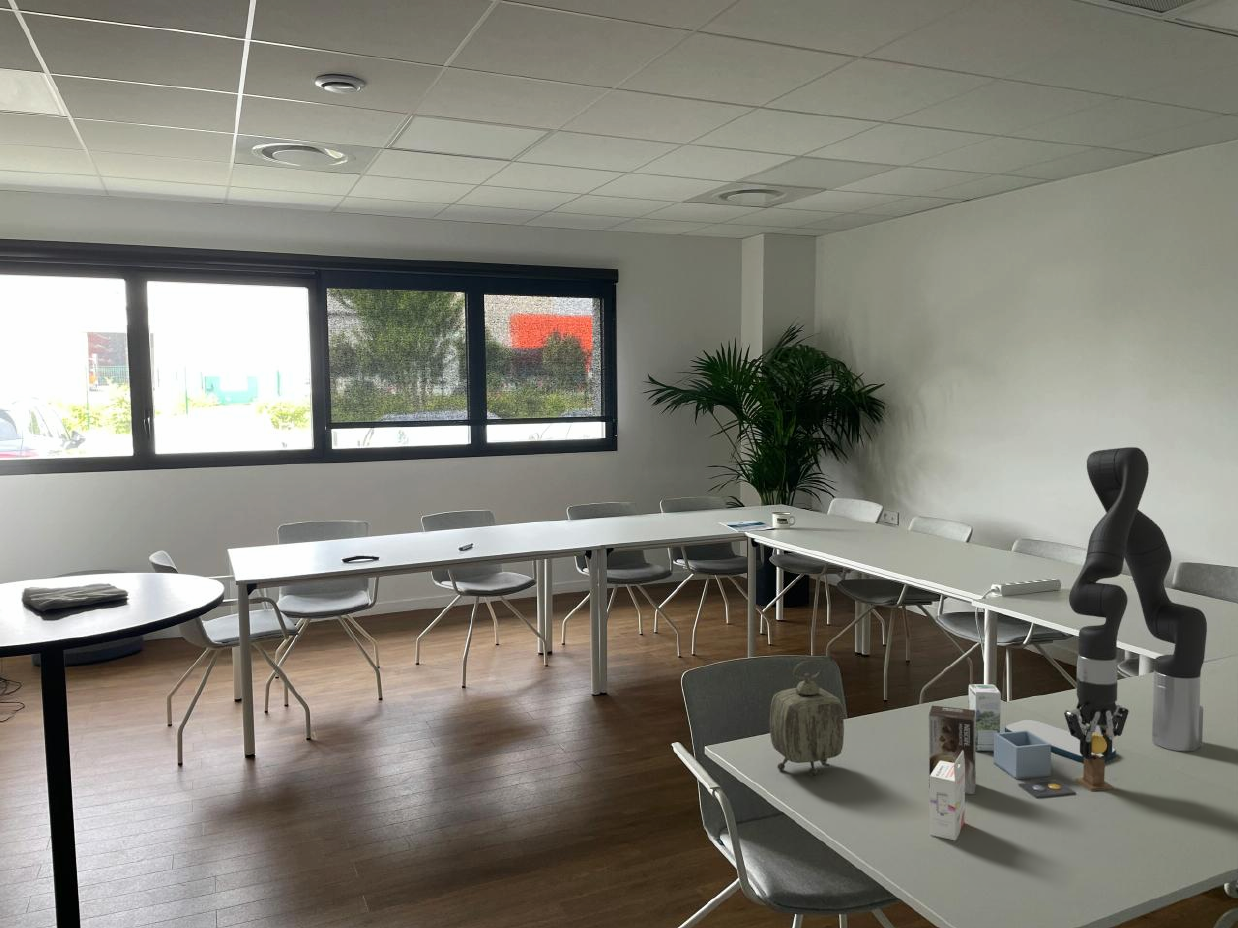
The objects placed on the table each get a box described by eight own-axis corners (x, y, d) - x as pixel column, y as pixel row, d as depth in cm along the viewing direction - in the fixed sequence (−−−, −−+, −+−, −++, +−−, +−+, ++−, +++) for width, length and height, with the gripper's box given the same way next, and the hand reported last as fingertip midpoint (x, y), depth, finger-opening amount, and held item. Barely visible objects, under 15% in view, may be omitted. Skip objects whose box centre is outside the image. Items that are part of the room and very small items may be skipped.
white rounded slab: (1121, 757, 202) (1122, 749, 202) (1091, 768, 196) (1092, 760, 196) (1028, 725, 222) (1028, 717, 222) (998, 734, 217) (998, 726, 217)
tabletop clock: (826, 759, 203) (826, 652, 201) (848, 775, 195) (848, 663, 193) (769, 768, 199) (769, 659, 197) (789, 785, 190) (788, 671, 188)
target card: (1056, 781, 189) (1056, 778, 189) (1075, 793, 183) (1075, 791, 183) (1018, 785, 188) (1018, 782, 188) (1036, 797, 182) (1036, 795, 182)
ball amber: (1097, 748, 189) (1097, 730, 189) (1111, 755, 185) (1111, 737, 185) (1081, 750, 189) (1081, 732, 188) (1094, 757, 185) (1094, 739, 184)
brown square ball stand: (1095, 778, 190) (1096, 751, 190) (1112, 788, 186) (1113, 760, 185) (1075, 780, 190) (1075, 753, 189) (1091, 790, 185) (1091, 763, 184)
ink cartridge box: (938, 816, 175) (939, 744, 174) (965, 822, 172) (965, 749, 171) (928, 835, 168) (929, 759, 167) (956, 841, 165) (956, 765, 164)
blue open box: (1026, 760, 200) (1027, 730, 200) (1050, 775, 192) (1050, 744, 192) (993, 763, 199) (994, 733, 198) (1016, 779, 191) (1016, 747, 190)
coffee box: (976, 782, 190) (976, 709, 188) (974, 795, 184) (975, 719, 182) (931, 776, 193) (931, 703, 192) (928, 788, 188) (928, 713, 186)
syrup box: (992, 742, 211) (993, 683, 210) (1000, 752, 205) (1001, 691, 204) (967, 742, 212) (968, 682, 210) (974, 752, 206) (975, 691, 205)
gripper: (1114, 668, 191) (1112, 746, 192) (1054, 674, 188) (1053, 752, 189) (1140, 679, 183) (1138, 760, 184) (1078, 685, 181) (1077, 767, 182)
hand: (1095, 755), depth 187 cm, fingers closed on ball amber, 4 cm apart
